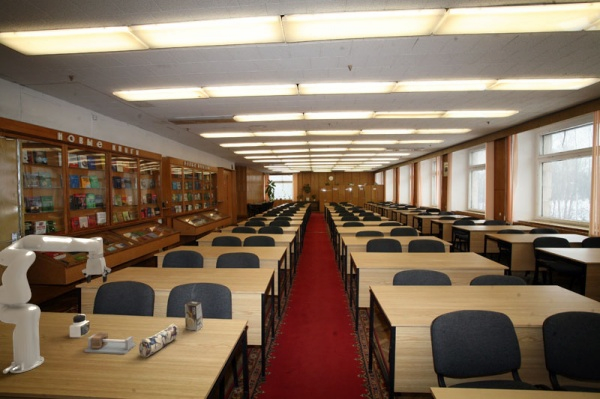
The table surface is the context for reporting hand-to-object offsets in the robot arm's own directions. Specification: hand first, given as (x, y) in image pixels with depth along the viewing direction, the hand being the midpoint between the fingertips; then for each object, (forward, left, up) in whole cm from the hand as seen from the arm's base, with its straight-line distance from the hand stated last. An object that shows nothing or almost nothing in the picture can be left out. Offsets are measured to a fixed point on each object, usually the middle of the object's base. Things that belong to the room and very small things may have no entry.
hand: (96, 282), depth 185 cm
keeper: (-24, -22, -28) cm, 42 cm away
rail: (-24, -28, -29) cm, 47 cm away
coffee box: (+3, -64, -30) cm, 71 cm away
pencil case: (-20, -55, -30) cm, 66 cm away
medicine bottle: (-11, +3, -30) cm, 32 cm away
